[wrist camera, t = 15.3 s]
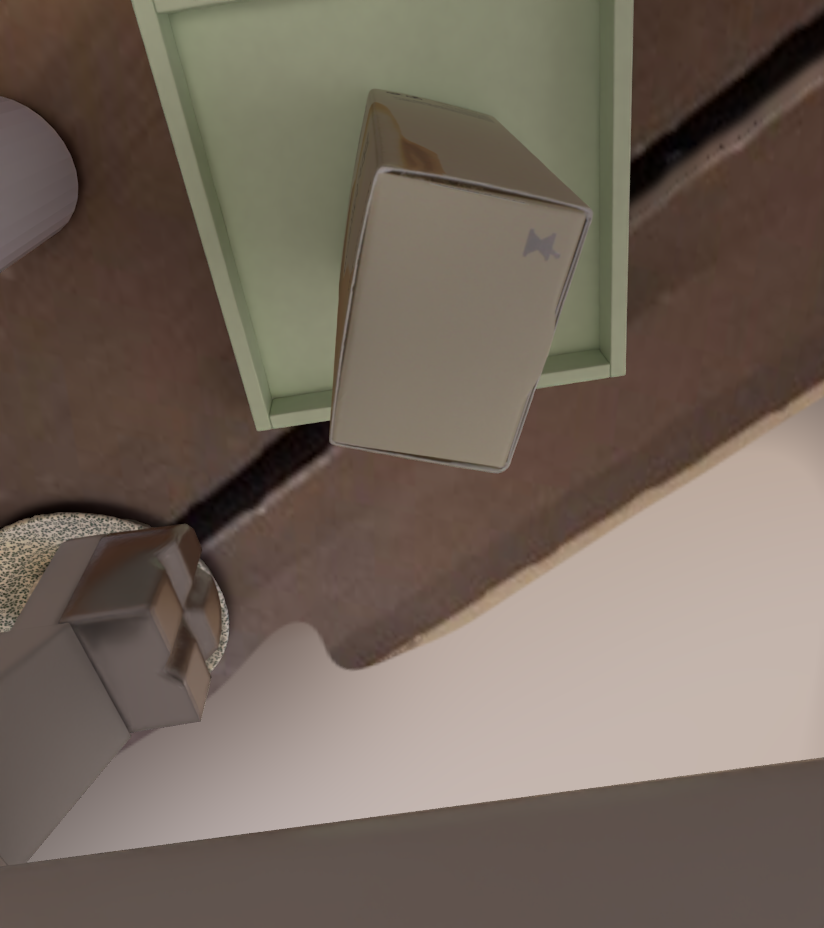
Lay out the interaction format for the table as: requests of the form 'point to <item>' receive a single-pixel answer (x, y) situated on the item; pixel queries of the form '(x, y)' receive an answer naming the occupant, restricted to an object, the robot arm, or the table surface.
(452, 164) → the cosmetic box
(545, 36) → the tray
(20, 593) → the grey speckled shallow bowl
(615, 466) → the table surface
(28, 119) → the perfume bottle
